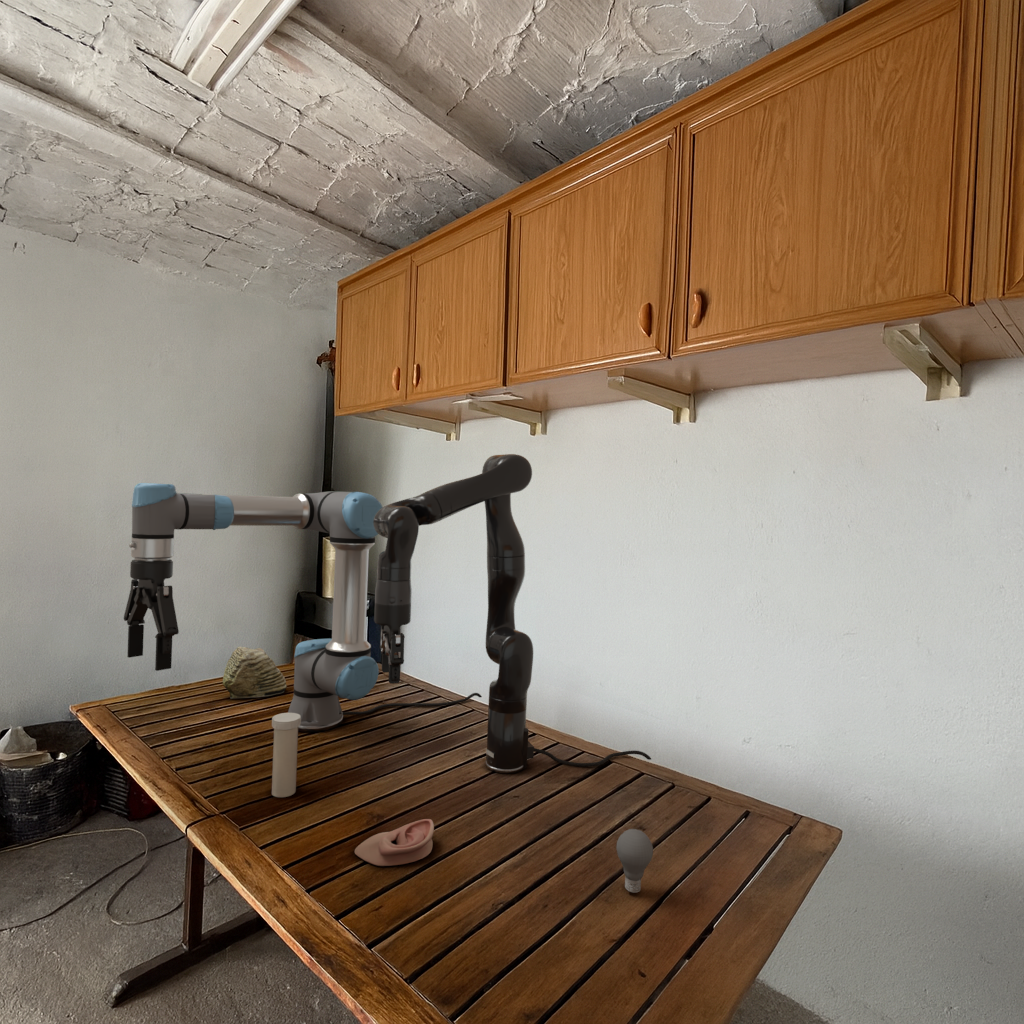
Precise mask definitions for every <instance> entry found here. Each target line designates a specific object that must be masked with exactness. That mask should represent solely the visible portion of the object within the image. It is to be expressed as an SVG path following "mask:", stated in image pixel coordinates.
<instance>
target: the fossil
mask: <svg viewBox="0 0 1024 1024" xmlns="http://www.w3.org/2000/svg"><path fill="white" fill-rule="evenodd" d="M222 676H223V677H222V685H223V687H224V688H225V690H226V691H228V693H229V698H230V699H250V698H264V697H271V696H275V695H281V694H284V693H285V691H286V689H287V687H288V686H287V680H286V678H285V676H284V674H283V673H282V672H281V669H279V668H278V667H277V665H276V663H275V662H274V660H273V659H272V658H271V657H270V656H269V655H268V654H267V653H266V652H265V650H264V649H263V648H260V647H258V648H251V647H247V646H246V647H245V646H238V647H237V648H236V649H235V650H233V651H232V653H231V656H230V657H229V659H228V660H227V663H226V666H225V668H224V671H223V675H222Z"/></svg>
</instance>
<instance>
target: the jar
mask: <svg viewBox="0 0 1024 1024" xmlns="http://www.w3.org/2000/svg"><path fill="white" fill-rule="evenodd" d="M298 742H299V731H298V727H297V728H294V729H289V730H278V729H274V728H273V742H272V743H273V745H272V770H271V771H272V772H271V795H272V796H273V797H275V798H286V797H291V796H292V795H294V794H295V793H296V792H297V771H298V748H299V747H298Z"/></svg>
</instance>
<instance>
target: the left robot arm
mask: <svg viewBox="0 0 1024 1024" xmlns="http://www.w3.org/2000/svg"><path fill="white" fill-rule="evenodd" d="M382 507H383V505H382V503H381V502H380V501H379V500H378V498H377V497H375V495H373V494H370V493H367V492H363V491H362V492H361V491H337V490H336V491H335V490H333V491H332V490H330V491H321V492H311V493H295V494H294V495H293V496H276V495H275V496H274V495H273V496H272V495H248V494H247V495H246V494H244V495H243V494H220V493H219V494H218V493H217V494H216V493H215V494H214V493H189V492H187V493H186V492H177V491H176V486H175V485H174V484H173V483H152V482H139V483H137V484H136V485H135V486H134V488H133V492H132V501H131V520H132V521H131V542H130V543H128V547H129V548H130V549H131V550H130V556H131V558H133V559H132V560H131V561H130V567H129V568H130V571H129V574H130V575H129V576H130V578H131V581H130V590H129V594H128V598H127V603H126V607H125V610H124V615H123V621H124V622H126V624H127V626H128V629H127V630H128V631H127V658H135V657H142V656H144V635H145V634H144V630H145V625H144V624H145V623H146V621H145V619H144V618H145V616H146V615H147V612H148V609H149V610H151V613H152V618H153V620H154V624H155V627H156V631H157V633H156V635H155V636H154V638H155V661H154V663H155V665H154V668H155V669H154V670H155V671H157V672H159V671H164V670H169V669H172V659H173V657H172V655H173V637H175V636H176V635H179V632H180V631H179V625H178V619H177V615H176V614H177V613H176V609H175V603H174V597H173V595H174V593H173V585H165V580H167V579H171V578H172V577H173V575H174V573H173V572H174V561H173V560H172V559H171V558H173V557H174V554H175V553H174V552H175V530H213V531H215V530H224V529H228V528H230V526H233V527H234V526H237V527H238V526H240V527H243V526H246V527H247V526H249V527H250V526H258V527H259V526H268V527H269V526H276V527H277V526H282V527H284V526H285V527H286V526H287V527H288V526H289V527H290V526H291V527H293V528H294V529H296V530H308V531H309V530H310V531H316V532H319V533H325V534H329V544H330V545H331V546H332V547H333V548H334V550H335V551H334V572H333V573H334V577H333V599H332V625H331V626H332V627H331V638H317V639H308V640H304V641H300V642H299V643H297V645H296V646H295V650H294V655H293V657H294V672H293V673H294V674H293V695H292V696H293V697H292V699H291V702H290V704H289V708H288V711H287V713H297V714H299V715H300V716H301V724H300V726H298V732H301V733H316V732H325V731H329V730H332V729H335V728H337V727H339V726H340V725H342V723H343V722H344V716H363V715H368V714H371V713H373V712H376V711H378V710H380V709H383V708H392V707H444V706H450V705H452V706H453V705H456V704H460V703H465V702H467V701H469V700H470V699H472V698H473V697H478V698H482V697H483V696H482V695H481V694H480V693H478V692H473V693H471V694H469V695H468V696H466V697H465V699H464V698H462V699H457V700H452V701H446V702H436V703H435V702H431V703H430V702H429V703H428V702H409V703H408V702H394V703H385V704H384V703H383V704H380V705H377V706H375V707H372V708H370V709H368V710H363V711H343V709H342V706H341V702H340V699H339V698H341V699H342V700H343V699H344V700H348V701H349V700H350V701H357V700H360V699H362V698H364V697H365V696H367V695H368V694H370V692H371V690H372V689H374V687H375V685H376V683H377V682H378V678H379V674H380V672H379V671H380V670H379V669H380V668H379V665H378V663H377V662H376V660H375V659H374V657H371V652H372V649H371V648H372V644H371V643H370V642H368V640H367V639H366V631H367V607H368V606H367V605H368V604H367V602H368V582H369V581H368V579H369V555H370V553H369V552H370V550H371V548H372V547H374V545H375V544H376V536H378V535H379V534H378V533H377V532H376V530H375V528H374V525H373V521H374V517H375V515H376V513H377V512H378V511H379V510H380V509H381V508H382Z"/></svg>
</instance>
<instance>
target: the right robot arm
mask: <svg viewBox="0 0 1024 1024" xmlns="http://www.w3.org/2000/svg"><path fill="white" fill-rule="evenodd" d="M532 478H533V468H532V465H531V462H530V461H529V460H528V459H527V458H526V457H524V456H522V455H520V454H515V453H505V454H494V455H491V456H489V457H488V458H487V459H486V460H485V462H484V464H483V466H482V471H481V473H479V474H477V475H473V476H470V477H466V478H462V479H459V480H455V481H451V482H448V483H445V484H442V485H439V486H437V487H434V488H431V489H429V490H427V491H425V492H423V493H420V494H418V495H416V496H413V497H409V498H406V499H402V500H398V501H394V502H391V503H389V504H387V505H384V506H382V508H381V509H380V510H379V511H378V512H377V513H376V515H375V517H374V521H373V525H374V528H375V530H376V532H377V533H378V535H379V536H381V537H383V538H385V539H386V545H385V549H384V551H382V552H380V553H379V554H378V557H377V565H376V566H377V567H376V582H375V583H376V584H375V589H374V590H375V591H374V614H373V615H374V616H373V617H374V618H373V621H374V624H376V625H379V626H380V640H379V649H380V653H381V672H382V673H388V683H389V684H391V685H393V684H399V683H400V682H401V665H404V662H405V637H406V636H405V634H404V633H403V632H401V627H402V626H406V625H408V624H410V623H411V620H412V619H411V616H412V593H413V592H412V580H411V579H412V560H413V559H412V558H413V556H414V553H415V549H416V546H417V542H418V536H419V530H420V526H426V525H427V526H429V525H433V524H436V523H438V522H441V521H443V520H445V519H447V518H449V517H451V516H454V515H456V514H458V513H460V512H463V511H465V510H467V509H470V508H471V507H473V506H476V505H478V504H481V503H483V502H484V508H485V524H486V528H485V529H486V568H487V569H486V570H487V573H486V574H487V620H486V629H485V630H486V631H485V652H486V654H487V656H488V658H489V659H490V660H491V661H492V662H493V663H495V664H496V665H498V675H497V679H494V680H492V681H491V682H490V684H489V688H488V709H487V731H486V748H485V754H486V755H485V758H486V759H485V767H486V768H487V769H488V770H489V771H492V772H495V773H499V774H515V773H518V772H520V771H522V770H526V769H528V760H531V759H534V758H535V757H534V756H535V753H538V754H541V755H545V756H547V757H548V758H550V759H551V760H553V761H554V762H556V763H559V764H562V765H564V766H565V765H567V766H572V767H581V768H588V767H597V766H598V767H599V766H601V765H603V764H605V763H607V762H608V761H609V760H610V759H612V758H616V757H622V756H628V755H638V756H639V755H640V756H642V757H643V758H645V759H647V760H648V761H649V760H652V758H651V756H650V755H648V754H647V753H646V752H643V751H640V750H625V751H619V752H613V753H610V754H608V755H606V756H605V757H604V758H602V759H601V760H599V761H594V762H576V761H575V762H574V761H568V760H563V759H560V758H558V757H556V756H555V755H553V754H552V753H551V752H549V751H547V750H543V749H540V748H536V747H535V746H534V745H533V744H532V743H531V742H530V741H529V733H530V732H529V731H530V730H529V728H528V727H527V706H528V705H527V703H528V691H529V688H530V686H531V683H532V678H533V677H532V675H533V665H534V644H533V641H532V639H531V637H530V636H529V635H528V634H527V633H525V632H523V631H520V630H518V629H516V622H515V621H516V617H515V616H516V615H515V607H516V601H517V599H518V596H519V594H520V591H521V588H522V586H523V583H524V580H525V576H526V550H525V543H524V541H523V538H522V535H521V533H520V531H519V528H518V526H517V525H516V524H517V523H516V521H515V519H514V516H513V512H512V497H511V495H512V494H515V493H521V491H524V490H525V489H526V488H527V487H528V486H529V485H530V483H531V481H532ZM395 656H397V657H395Z"/></svg>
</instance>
